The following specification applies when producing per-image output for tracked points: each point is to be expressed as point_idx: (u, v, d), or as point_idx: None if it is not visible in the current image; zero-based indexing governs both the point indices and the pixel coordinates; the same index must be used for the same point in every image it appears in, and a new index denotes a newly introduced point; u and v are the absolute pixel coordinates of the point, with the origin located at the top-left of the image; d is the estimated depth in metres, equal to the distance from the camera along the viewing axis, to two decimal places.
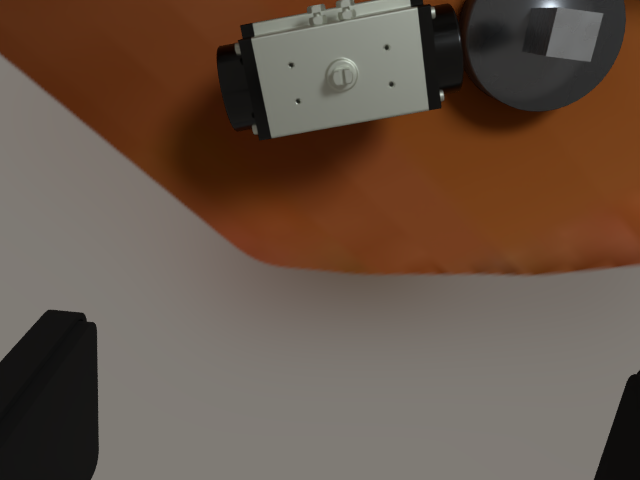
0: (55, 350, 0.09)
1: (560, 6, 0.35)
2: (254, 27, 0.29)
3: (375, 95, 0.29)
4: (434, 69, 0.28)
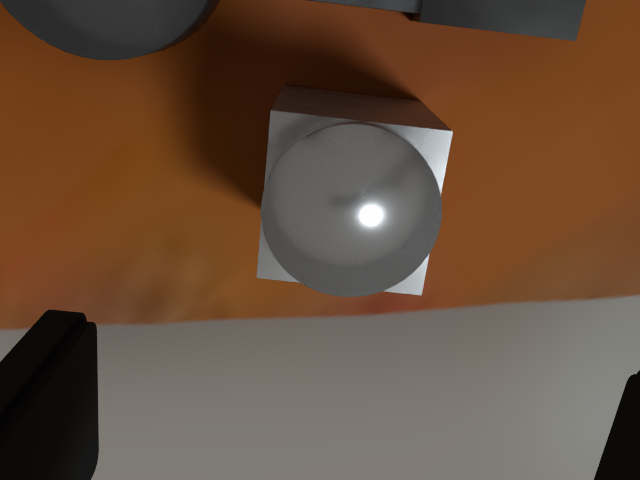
0: (55, 350, 0.09)
1: None
2: None
3: None
4: None
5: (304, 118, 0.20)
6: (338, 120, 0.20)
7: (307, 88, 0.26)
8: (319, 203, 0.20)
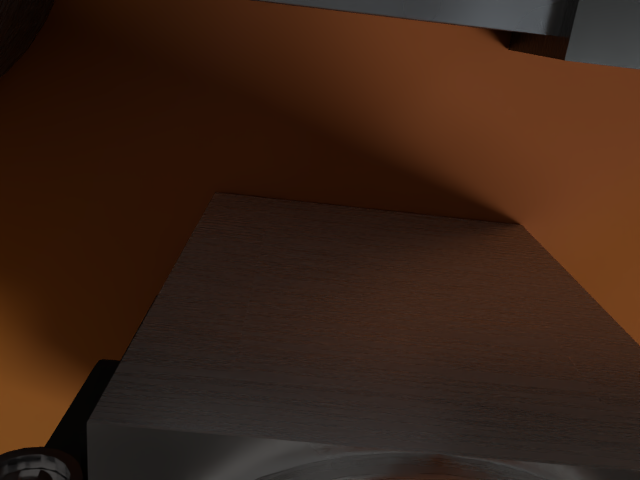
0: None
1: None
2: None
3: None
4: None
5: (220, 443, 0.05)
6: (349, 454, 0.05)
7: (268, 201, 0.12)
8: None
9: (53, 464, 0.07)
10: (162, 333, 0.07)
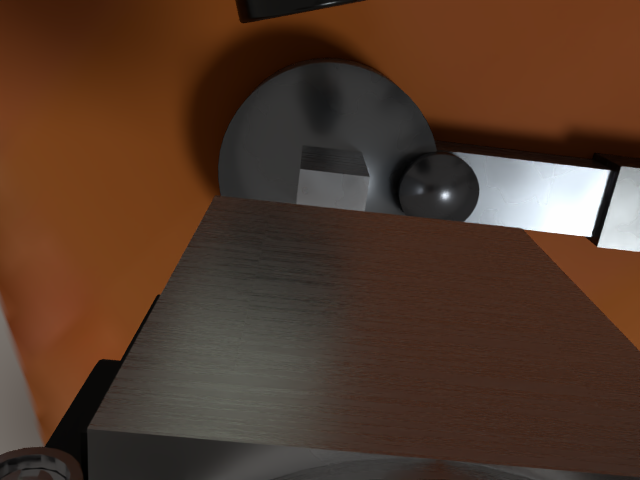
0: None
1: None
2: None
3: None
4: None
5: (220, 449, 0.05)
6: (349, 460, 0.05)
7: (267, 204, 0.12)
8: None
9: (53, 464, 0.07)
10: (162, 338, 0.07)
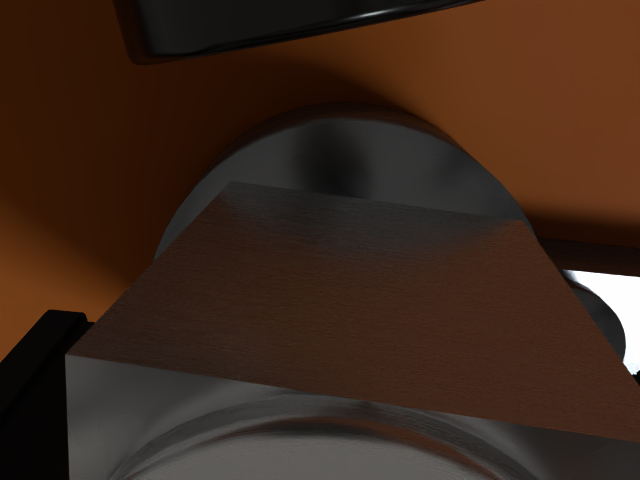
0: (56, 350, 0.09)
1: None
2: None
3: None
4: None
5: (177, 380, 0.06)
6: (286, 396, 0.06)
7: (278, 190, 0.12)
8: None
9: None
10: (148, 292, 0.07)
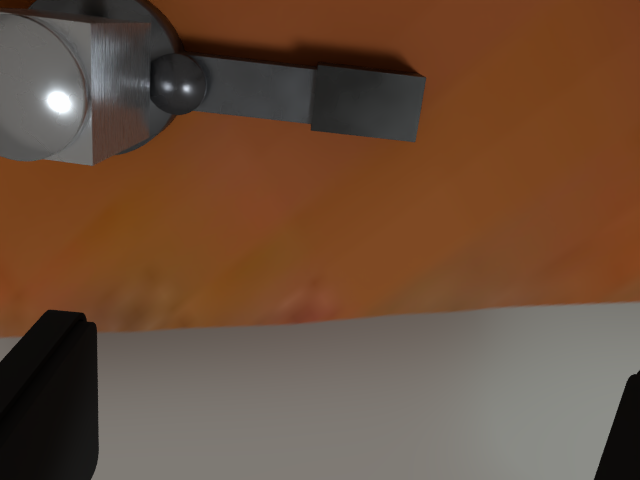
0: (55, 350, 0.09)
1: None
2: None
3: None
4: None
5: None
6: (1, 14, 0.25)
7: (56, 11, 0.32)
8: None
9: None
10: None
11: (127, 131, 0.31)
